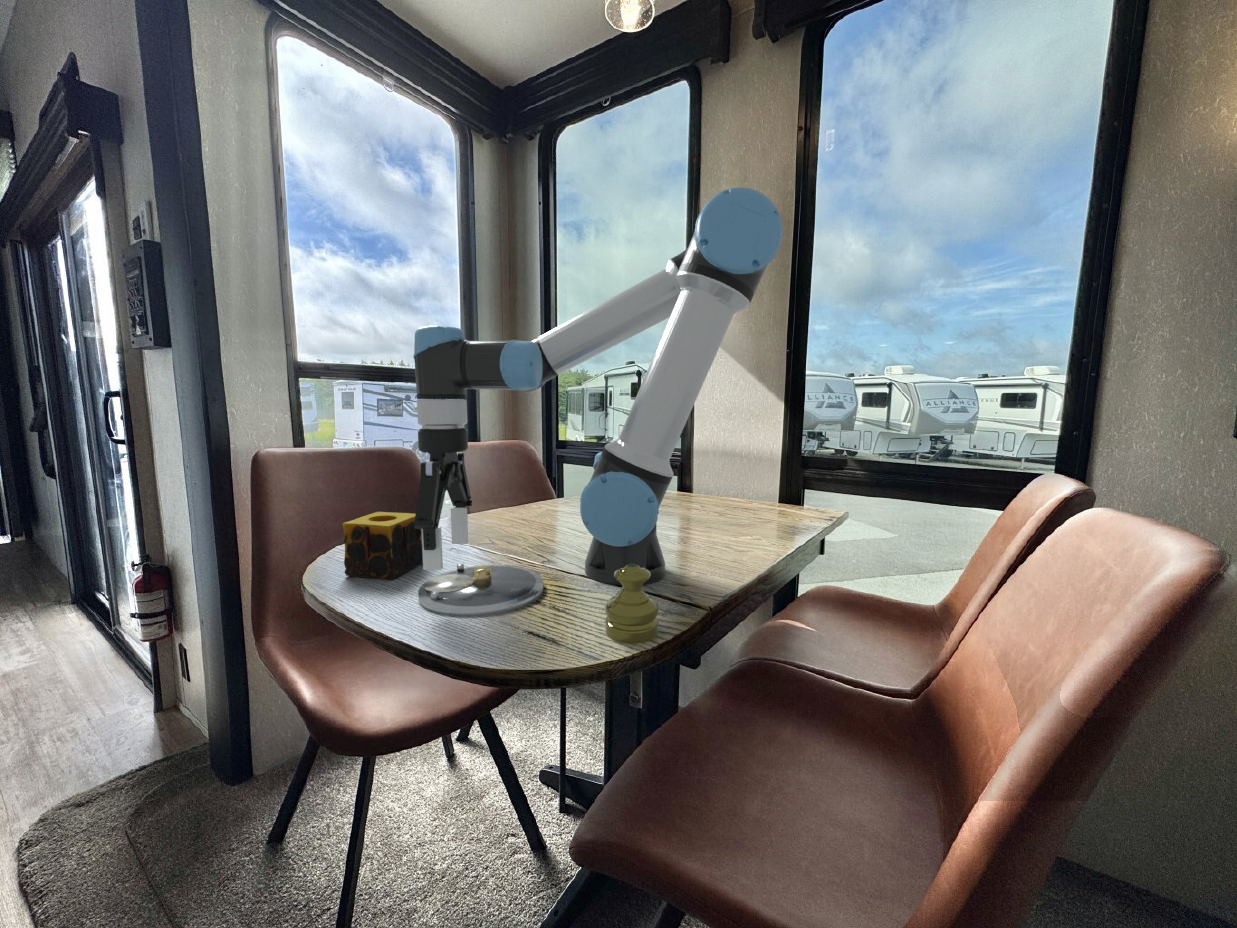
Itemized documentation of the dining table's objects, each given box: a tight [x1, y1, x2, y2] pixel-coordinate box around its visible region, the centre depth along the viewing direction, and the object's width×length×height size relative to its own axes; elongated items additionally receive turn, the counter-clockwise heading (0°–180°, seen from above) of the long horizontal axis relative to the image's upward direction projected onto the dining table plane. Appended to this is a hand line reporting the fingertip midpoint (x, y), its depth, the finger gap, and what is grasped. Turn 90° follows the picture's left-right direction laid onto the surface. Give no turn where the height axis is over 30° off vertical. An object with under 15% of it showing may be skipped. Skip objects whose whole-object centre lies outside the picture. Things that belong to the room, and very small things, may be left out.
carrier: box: [417, 563, 544, 617], centre depth 84 cm, size 20×20×4 cm
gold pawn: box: [604, 563, 660, 644], centre depth 69 cm, size 7×7×10 cm
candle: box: [342, 511, 423, 581], centre depth 95 cm, size 10×10×10 cm
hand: (447, 555), depth 84 cm, fingers open, 13 cm apart
